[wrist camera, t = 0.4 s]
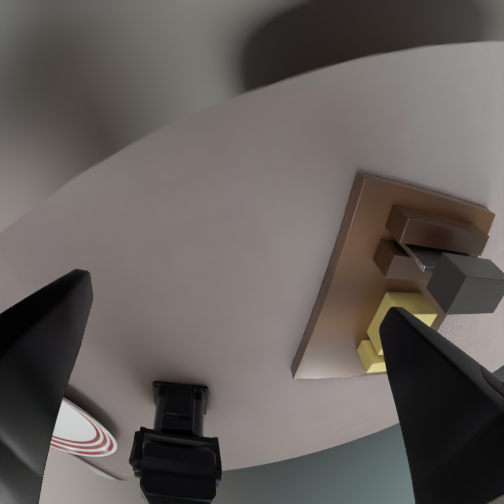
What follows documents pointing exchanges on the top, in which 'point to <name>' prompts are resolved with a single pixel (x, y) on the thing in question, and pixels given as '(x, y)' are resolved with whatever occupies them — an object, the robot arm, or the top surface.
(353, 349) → the cutting board
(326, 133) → the top surface
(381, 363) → the butter slice
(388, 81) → the top surface
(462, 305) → the dark grey block
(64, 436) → the dinner plate
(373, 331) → the butter stick
